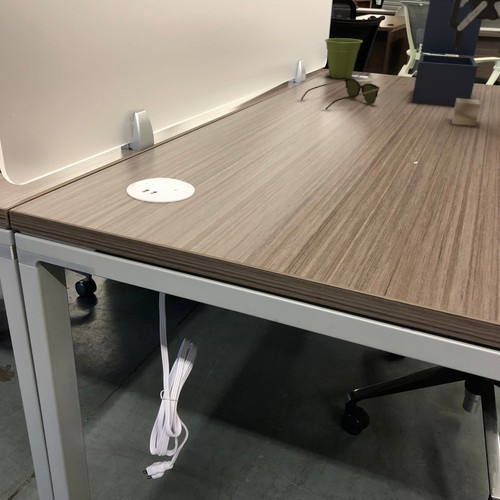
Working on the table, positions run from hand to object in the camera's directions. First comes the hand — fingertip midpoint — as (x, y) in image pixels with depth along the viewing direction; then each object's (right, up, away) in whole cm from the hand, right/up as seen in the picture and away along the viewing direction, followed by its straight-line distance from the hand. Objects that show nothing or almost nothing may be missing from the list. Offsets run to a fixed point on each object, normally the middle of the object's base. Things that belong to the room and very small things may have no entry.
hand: (479, 51), depth 106 cm
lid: (+6, +20, +29) cm, 36 cm away
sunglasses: (-26, -4, +23) cm, 35 cm away
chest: (+3, -1, +31) cm, 31 cm away
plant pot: (-19, +15, +59) cm, 63 cm away
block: (0, -13, +7) cm, 15 cm away
